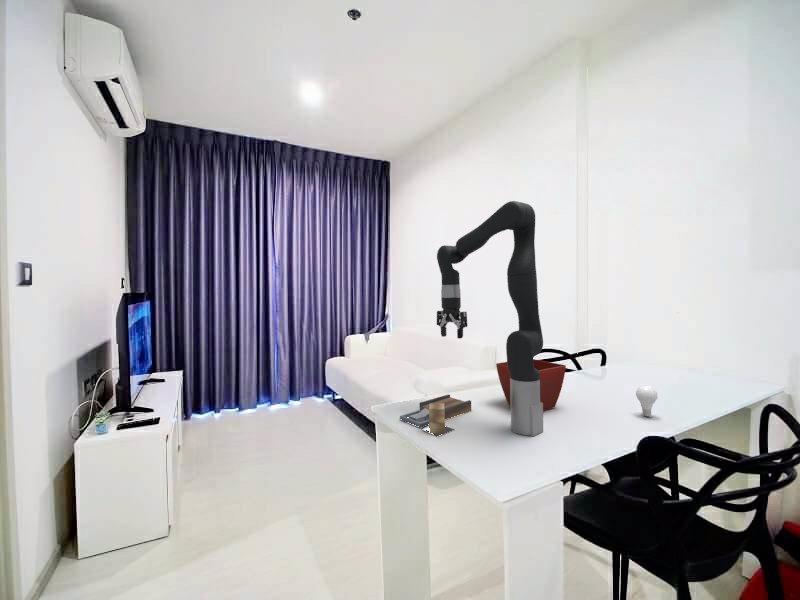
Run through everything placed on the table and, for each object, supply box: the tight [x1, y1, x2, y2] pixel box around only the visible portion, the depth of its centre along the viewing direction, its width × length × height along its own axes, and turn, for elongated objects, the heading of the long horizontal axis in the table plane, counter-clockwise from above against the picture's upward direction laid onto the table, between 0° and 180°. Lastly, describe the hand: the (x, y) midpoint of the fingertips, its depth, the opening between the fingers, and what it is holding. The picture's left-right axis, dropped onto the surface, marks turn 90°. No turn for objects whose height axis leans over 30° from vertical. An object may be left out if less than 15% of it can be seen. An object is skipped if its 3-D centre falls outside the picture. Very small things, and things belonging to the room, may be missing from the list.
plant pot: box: [495, 358, 567, 411], centre depth 144 cm, size 19×19×17 cm
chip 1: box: [409, 414, 425, 422], centre depth 131 cm, size 4×4×2 cm
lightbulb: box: [635, 385, 658, 418], centre depth 129 cm, size 6×6×11 cm
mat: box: [426, 425, 455, 437], centre depth 122 cm, size 8×8×1 cm
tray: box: [399, 409, 429, 428], centre depth 132 cm, size 11×10×2 cm
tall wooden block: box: [428, 403, 446, 435], centre depth 122 cm, size 5×6×8 cm
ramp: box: [419, 393, 472, 420], centre depth 140 cm, size 12×16×4 cm
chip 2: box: [418, 408, 429, 420], centre depth 133 cm, size 4×4×2 cm
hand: (451, 337), depth 144 cm, fingers open, 8 cm apart
